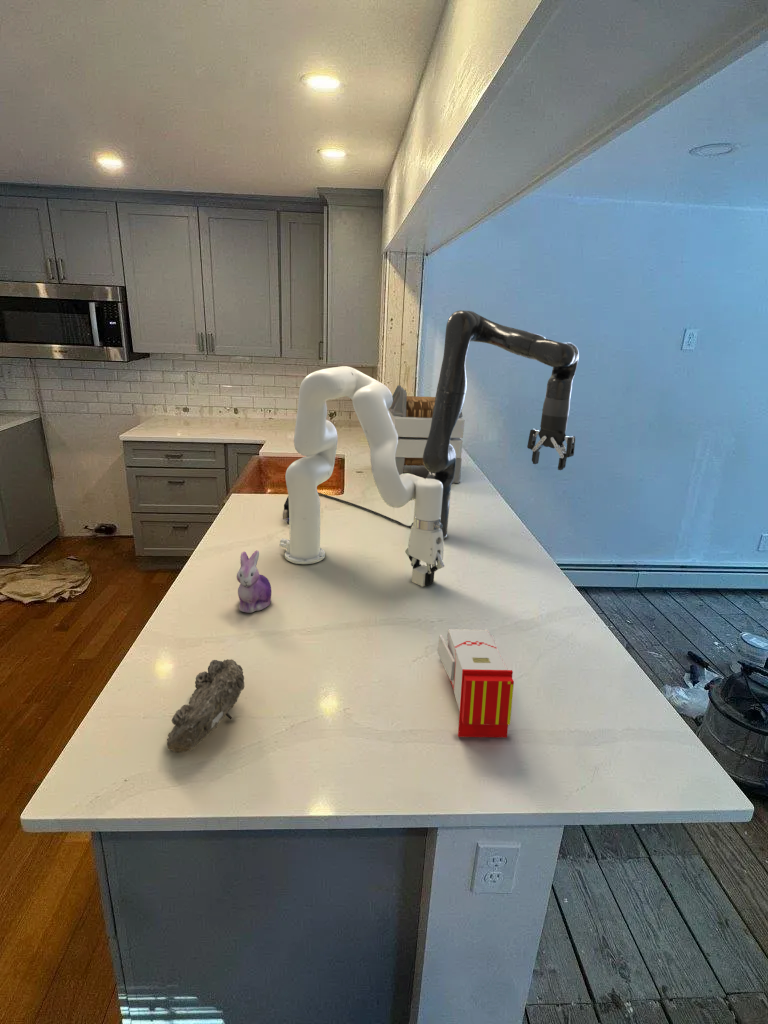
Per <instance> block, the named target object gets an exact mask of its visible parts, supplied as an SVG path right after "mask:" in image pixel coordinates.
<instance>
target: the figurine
mask: <svg viewBox="0 0 768 1024" xmlns="http://www.w3.org/2000/svg"><path fill="white" fill-rule="evenodd" d="M259 557H260V551H259V550H255V551H254V552H253V553H252V554H251V556H250V557H249V556H248V554H247V552H246V551H242V552H241V553H240V557H239V558H240V567H239V569H238V571H237V573H236V580H237V582H238V583H239V586H238V588H237V596H238V599H239V608H238V609H239V611H240V612H243V613H250V614H251V613H254V612H258V611H261V610H264V609H266V608H267V607H268V606H270V605H271V602H272V586H271V582H270V580H269V579H268V578H267V576H265V575H263V574H260V572H259V569H258V568H257V564H258V562H259Z"/></svg>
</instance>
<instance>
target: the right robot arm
mask: <svg viewBox="0 0 768 1024" xmlns="http://www.w3.org/2000/svg"><path fill="white" fill-rule="evenodd" d="M444 334H445V335H444V336H445V337H444V347H443V357H442V362H441V366H440V370H439V371H440V373H439V377H438V382H437V387H436V392H435V396H434V397H435V404H434V410H433V415H432V422H431V428H430V432H429V436H428V439H427V443H426V446H425V449H424V453H423V464H424V466H423V467H424V468H425V470H426V471H428V472H427V476H426V478H425V479H427V478H429V479H436V480H439V481H440V482H441V483H442V484H443V496H442V508H441V521H440V523H441V524H442V525H443V527H442V528H441V529H442V532H443V541H444V540H446V539H447V538H448V525H449V517H450V516H449V514H450V504H451V494H452V493H451V491H452V485H453V484H454V483H453V479H454V472H455V464H456V453H455V450H454V448H453V446H452V445H451V444H449V443H450V438H451V434H452V431H453V428H454V426H455V424H456V422H457V420H458V418H459V416H460V413H461V412H463V411H462V410H463V408H464V403H465V398H466V395H467V387H468V382H467V380H468V379H467V371H466V360H467V354H468V350H469V345H470V342H475V343H483V344H489V345H491V346H495V347H498V348H500V349H502V350H505V351H506V352H509V353H511V354H513V355H516V356H520V357H522V358H526V359H529V360H534V361H537V362H539V363H540V364H541V363H542V364H544V365H547V366H548V367H551V368H552V369H551V370H552V371H551V374H550V377H549V378H548V379H547V383H546V389H545V397H544V401H543V405H542V409H541V419H540V425H539V426H540V428H539V429H537V428H533V429H530V431H529V436H528V440H527V446H526V447H527V449H528V450H531V451H532V455H531V462H532V464H533V465H538V464H539V462H540V454H541V451H540V450H541V449H542V448H543V447H545V448H550V449H555V451H556V453H558V456H559V458H558V465H557V470H558V471H563V470H564V469H565V468H566V467H567V466H566V465H567V458H572V457H574V455H575V449H576V448H575V447H576V436H575V435H572V436H570V435H569V436H568V435H567V434H566V432H567V428H568V423H569V415H570V408H571V396H572V390H573V382H574V378H575V375H576V372H577V367H578V364H579V358H580V352H579V349H578V346H576V344H574V343H573V342H569V341H568V342H562V341H558V340H557V341H556V340H553V339H549V338H546V337H545V336H543V335H541V334H537V333H534V332H530V331H526V330H524V329H519V328H514V327H510V326H507V325H503V324H500V323H497V322H495V321H492V320H490V319H488V318H486V317H484V316H482V315H480V314H478V313H476V312H475V311H472V310H464V309H462V310H461V309H460V310H457V311H454V312H453V313H451V314H450V316H449V317H448V320H447V321H446V327H445V333H444ZM538 437H539V441H537V438H538ZM564 442H565V443H566V445H565V444H564ZM318 494H319V496H322V497H324V498H325V497H326V498H328V499H332V500H335V501H338V502H342V503H345V504H347V505H351V506H354V507H357V508H358V509H362V510H364V511H367V512H370V513H372V514H374V515H377V516H380V517H382V518H384V519H386V520H389V521H391V522H394V523H395V524H398V525H400V526H403V527H404V528H408V529H411V527H412V524H413V523H414V521H413V522H412V523H411V524H410V525H407V524H404V523H402V522H400V521H399V520H397V519H394V518H391V517H389V516H388V515H384V514H382V513H380V512H377V511H375V510H372V509H369V508H367V507H364V506H361V505H359V504H356V503H353V502H350V501H347V500H345V499H341V498H337V497H334V496H331V495H328V494H326V493H325V494H324V493H321V492H318Z"/></svg>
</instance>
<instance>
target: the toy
mask: <svg viewBox="0 0 768 1024" xmlns="http://www.w3.org/2000/svg"><path fill="white" fill-rule="evenodd" d="M446 640H447V643H446V641H445V639H444V636H443V635H442V634H439V637H438V646H437V656H438V657H439V659H440V661H441V663H442V666H443V668H444V670H445V672H446V674H447V677H448V679H449V681H450V684H451V687H452V690H453V693H454V697H455V701H456V705H457V708H458V711H459V714H458V715H459V716H458V730H457V731H458V732H457V737H458V738H508V731H509V726H510V725H511V717H512V707H513V697H514V696H513V695H514V684H515V680H514V679H513V673H514V671H513V670H512V669H508V667H507V665H506V662H505V661H504V659H503V658H502V655H501V653H500V651H499V649H498V647H497V643H496V639H495V637H494V635H493V634H491V632H490V631H489V629H467V628H466V629H465V628H463V629H461V628H460V629H459V628H448V630H447V639H446Z"/></svg>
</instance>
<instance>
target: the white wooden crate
mask: <svg viewBox="0 0 768 1024" xmlns="http://www.w3.org/2000/svg"><path fill="white" fill-rule="evenodd" d="M407 394H408V393H407V390H406V389H404V388H403V387H402V385H399V384H398V385H397V386H396V388H395V390H394V392H393V394H392V398H393V401H392V405H391V407H390V408H389V409H388V412H389V414H390V417H391V419H392V422H393V424H394V427H395V429H396V431H397V434H398V444H397V448H396V452H395V462H396V467H397V470H398V473H399V475H401V474H404V469H405V466H406V467H407V466H411V467H412V466H413V467H415V466H416V467H417V466H418V467H425V466H424V464H423V453H424V449H425V446H426V443H427V439H428V436H429V432H430V428H431V422H432V415H433V410H434V404H435V397H436V396H415V395H414V396H413V395H412V396H411V395H407ZM464 429H465V419H464V418H463V411H461V413H460V416H459V418H458V420H457V422H456V424H455V426H454V428H453V431H452V434H451V438H450V443H449V444H451V445H452V446H453V448H454V450H455V453H456V464H455V472H454V479H453V483H452V484H455V483H456V484H459V483H461V472H462V461H463V460H462V453H463V442H464V441H463V440H462V439H463V438H464V431H465V430H464Z"/></svg>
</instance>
